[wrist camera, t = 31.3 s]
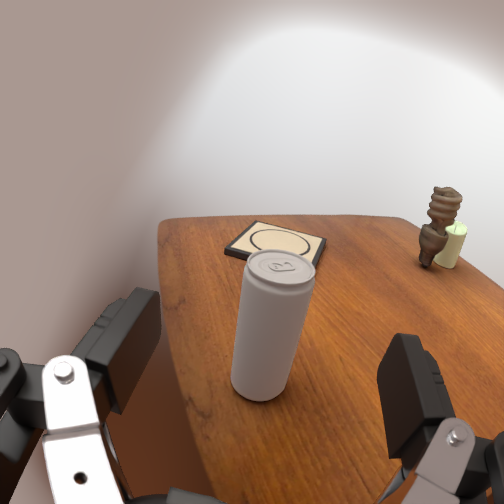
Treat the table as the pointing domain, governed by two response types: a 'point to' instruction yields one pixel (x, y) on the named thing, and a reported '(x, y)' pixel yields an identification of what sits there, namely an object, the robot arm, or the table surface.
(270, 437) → the table surface
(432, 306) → the table surface
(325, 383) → the table surface
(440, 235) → the light bulb
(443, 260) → the candle
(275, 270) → the beverage can
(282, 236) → the black and cream coaster
